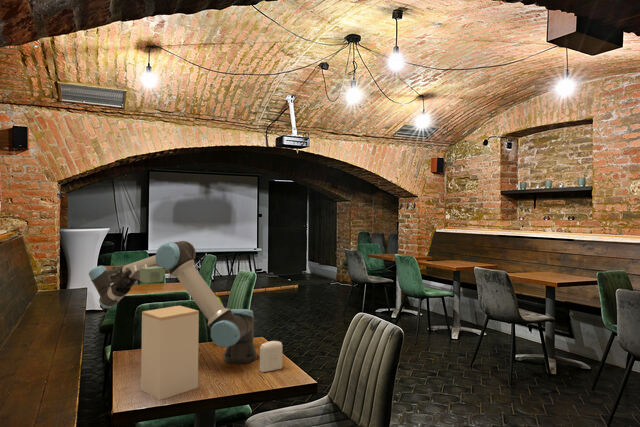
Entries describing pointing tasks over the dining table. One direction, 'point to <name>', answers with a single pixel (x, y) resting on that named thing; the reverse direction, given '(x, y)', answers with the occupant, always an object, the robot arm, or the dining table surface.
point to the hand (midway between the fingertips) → (140, 267)
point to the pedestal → (169, 351)
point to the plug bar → (148, 274)
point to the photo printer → (270, 356)
